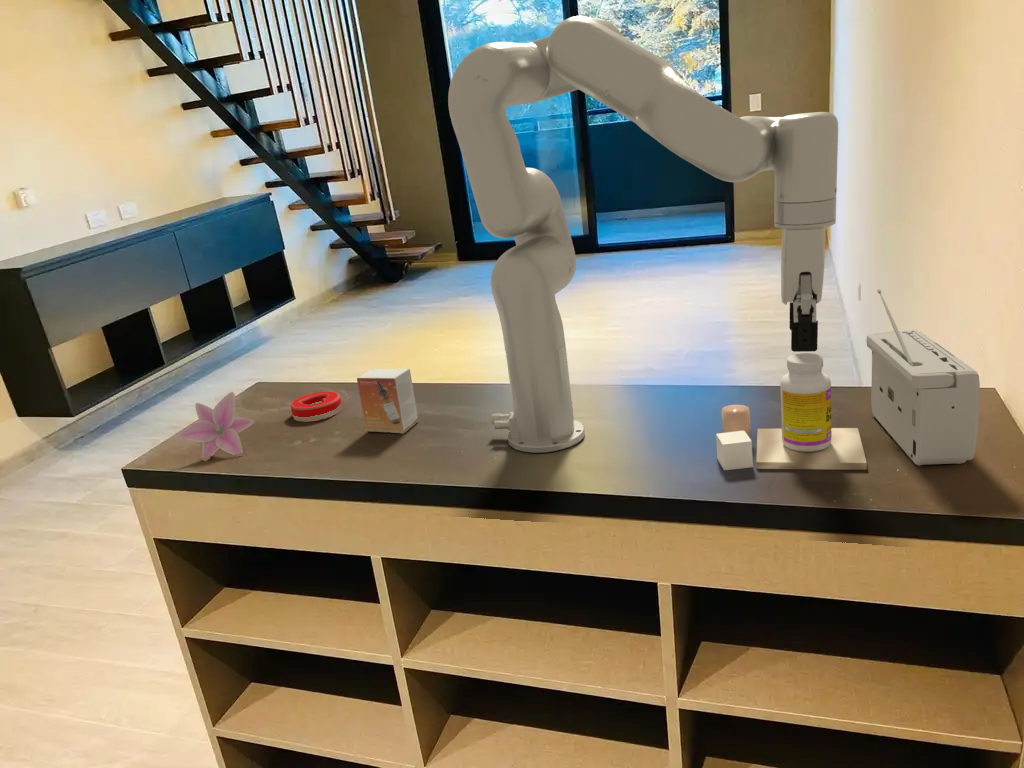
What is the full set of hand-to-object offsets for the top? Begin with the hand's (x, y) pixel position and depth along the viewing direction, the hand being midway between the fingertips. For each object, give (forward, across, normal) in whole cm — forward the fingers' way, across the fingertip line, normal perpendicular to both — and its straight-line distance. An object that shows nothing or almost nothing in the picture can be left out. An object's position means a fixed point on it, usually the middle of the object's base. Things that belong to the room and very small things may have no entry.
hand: (802, 339), depth 110 cm
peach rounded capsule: (+17, -4, -9) cm, 19 cm away
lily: (+20, +1, -98) cm, 99 cm away
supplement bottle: (+16, 0, +1) cm, 16 cm away
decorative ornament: (+20, -18, -89) cm, 93 cm away
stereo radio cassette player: (+16, -5, +16) cm, 23 cm away
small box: (+19, -10, -69) cm, 72 cm away
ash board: (+16, 0, +1) cm, 17 cm away
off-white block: (+17, +4, -9) cm, 20 cm away
